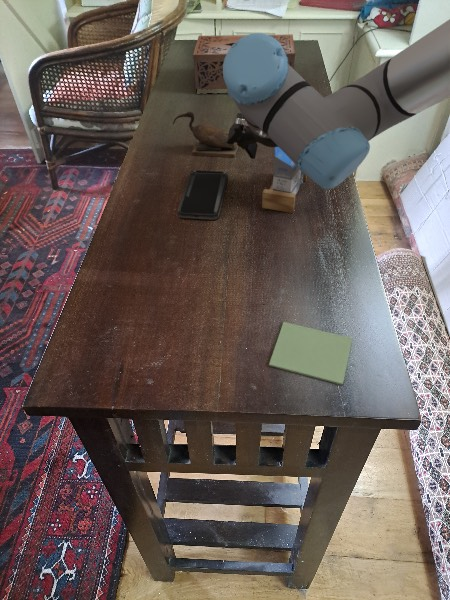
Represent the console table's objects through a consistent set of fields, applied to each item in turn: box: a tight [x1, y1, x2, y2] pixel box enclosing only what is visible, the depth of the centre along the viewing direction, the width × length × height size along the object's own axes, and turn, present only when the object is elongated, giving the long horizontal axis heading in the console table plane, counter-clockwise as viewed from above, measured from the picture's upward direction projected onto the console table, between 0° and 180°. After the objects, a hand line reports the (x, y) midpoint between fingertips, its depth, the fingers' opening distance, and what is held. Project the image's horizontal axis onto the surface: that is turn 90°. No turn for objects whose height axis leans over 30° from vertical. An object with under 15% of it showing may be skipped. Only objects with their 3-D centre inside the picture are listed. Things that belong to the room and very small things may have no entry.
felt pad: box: [268, 321, 353, 386], centre depth 64 cm, size 10×8×1 cm
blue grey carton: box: [272, 147, 304, 195], centre depth 86 cm, size 9×4×12 cm, turn 157°
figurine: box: [172, 111, 239, 159], centre depth 100 cm, size 14×4×9 cm, turn 80°
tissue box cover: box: [192, 33, 296, 90], centre depth 124 cm, size 26×14×10 cm, turn 87°
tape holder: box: [261, 173, 308, 214], centre depth 89 cm, size 6×12×4 cm, turn 161°
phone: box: [177, 169, 229, 221], centre depth 90 cm, size 8×1×15 cm
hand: (288, 156), depth 87 cm, fingers open, 13 cm apart
